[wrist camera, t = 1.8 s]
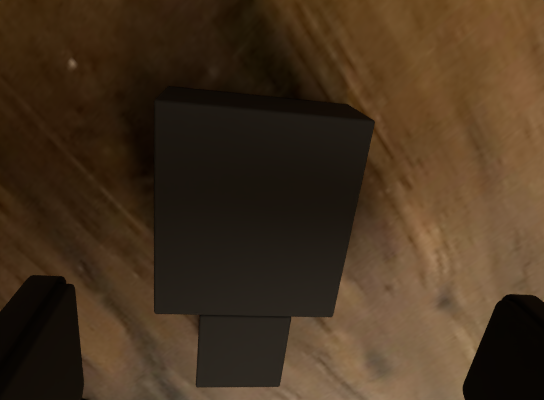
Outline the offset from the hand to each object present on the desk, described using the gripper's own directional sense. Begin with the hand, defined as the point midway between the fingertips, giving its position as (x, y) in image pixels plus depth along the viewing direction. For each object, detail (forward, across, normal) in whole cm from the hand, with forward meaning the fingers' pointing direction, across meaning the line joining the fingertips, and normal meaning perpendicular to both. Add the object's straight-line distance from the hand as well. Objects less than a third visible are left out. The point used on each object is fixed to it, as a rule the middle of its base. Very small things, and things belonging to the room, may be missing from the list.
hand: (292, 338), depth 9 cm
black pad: (+9, 0, +2) cm, 9 cm away
